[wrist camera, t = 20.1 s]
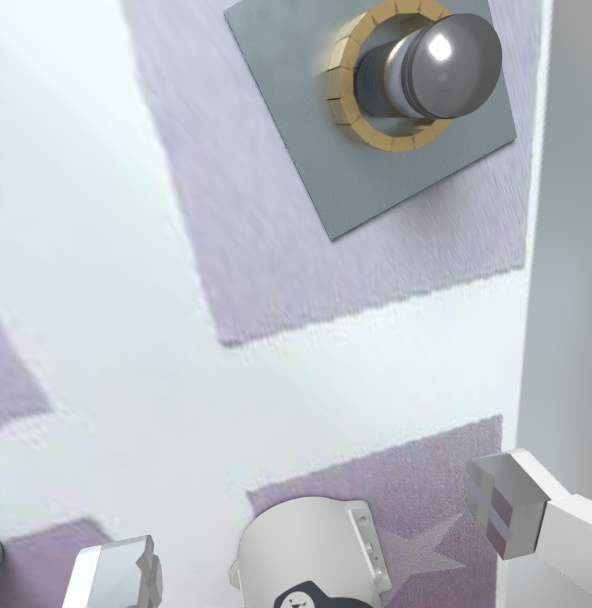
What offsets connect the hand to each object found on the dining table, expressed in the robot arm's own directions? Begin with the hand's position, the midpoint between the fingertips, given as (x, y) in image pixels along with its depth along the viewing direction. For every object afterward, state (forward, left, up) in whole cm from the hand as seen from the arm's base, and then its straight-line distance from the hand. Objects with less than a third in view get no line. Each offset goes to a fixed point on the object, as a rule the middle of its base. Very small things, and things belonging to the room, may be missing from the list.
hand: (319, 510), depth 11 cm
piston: (+5, -16, -27) cm, 31 cm away
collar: (+5, -16, -27) cm, 32 cm away
